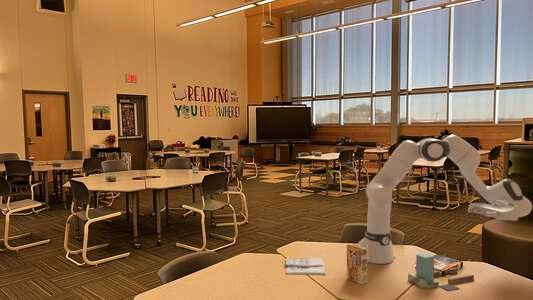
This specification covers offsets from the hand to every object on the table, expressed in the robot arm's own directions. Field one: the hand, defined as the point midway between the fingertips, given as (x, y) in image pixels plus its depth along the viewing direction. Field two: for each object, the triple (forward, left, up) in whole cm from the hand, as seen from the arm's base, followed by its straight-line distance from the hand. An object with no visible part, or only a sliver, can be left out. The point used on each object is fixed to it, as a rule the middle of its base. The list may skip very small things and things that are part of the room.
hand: (477, 212), depth 183 cm
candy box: (-13, -54, -28) cm, 62 cm away
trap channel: (0, -21, -28) cm, 35 cm away
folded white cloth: (-37, -68, -29) cm, 83 cm away
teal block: (0, -29, -28) cm, 40 cm away
